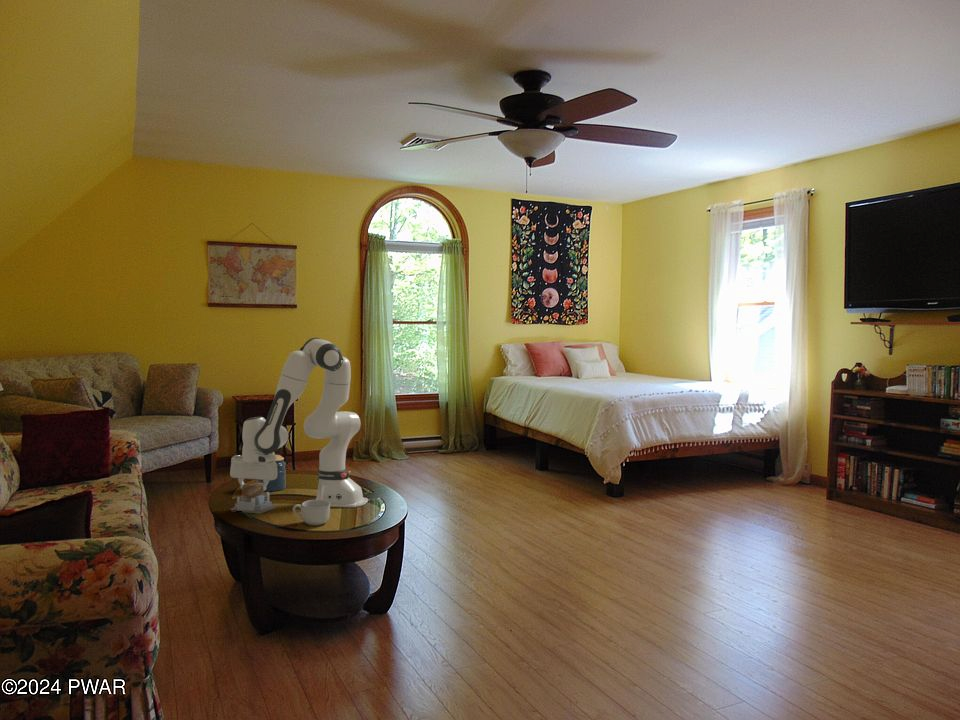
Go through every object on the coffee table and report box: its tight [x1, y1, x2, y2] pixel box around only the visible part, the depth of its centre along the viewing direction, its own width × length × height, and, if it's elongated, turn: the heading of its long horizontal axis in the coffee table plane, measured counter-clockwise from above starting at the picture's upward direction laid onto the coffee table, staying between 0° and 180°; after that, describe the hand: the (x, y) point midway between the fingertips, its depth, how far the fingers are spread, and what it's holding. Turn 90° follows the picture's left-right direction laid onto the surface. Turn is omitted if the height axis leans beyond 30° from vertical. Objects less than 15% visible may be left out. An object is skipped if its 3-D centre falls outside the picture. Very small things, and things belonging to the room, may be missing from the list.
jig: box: [229, 491, 277, 515], centre depth 275 cm, size 14×12×6 cm
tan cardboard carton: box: [241, 481, 265, 499], centre depth 275 cm, size 4×10×4 cm, turn 166°
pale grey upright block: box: [240, 494, 265, 505], centre depth 275 cm, size 8×4×4 cm, turn 77°
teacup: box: [292, 499, 331, 526], centre depth 256 cm, size 14×11×8 cm
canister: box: [256, 452, 287, 492], centre depth 312 cm, size 13×13×18 cm
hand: (253, 489), depth 275 cm, fingers open, 8 cm apart
